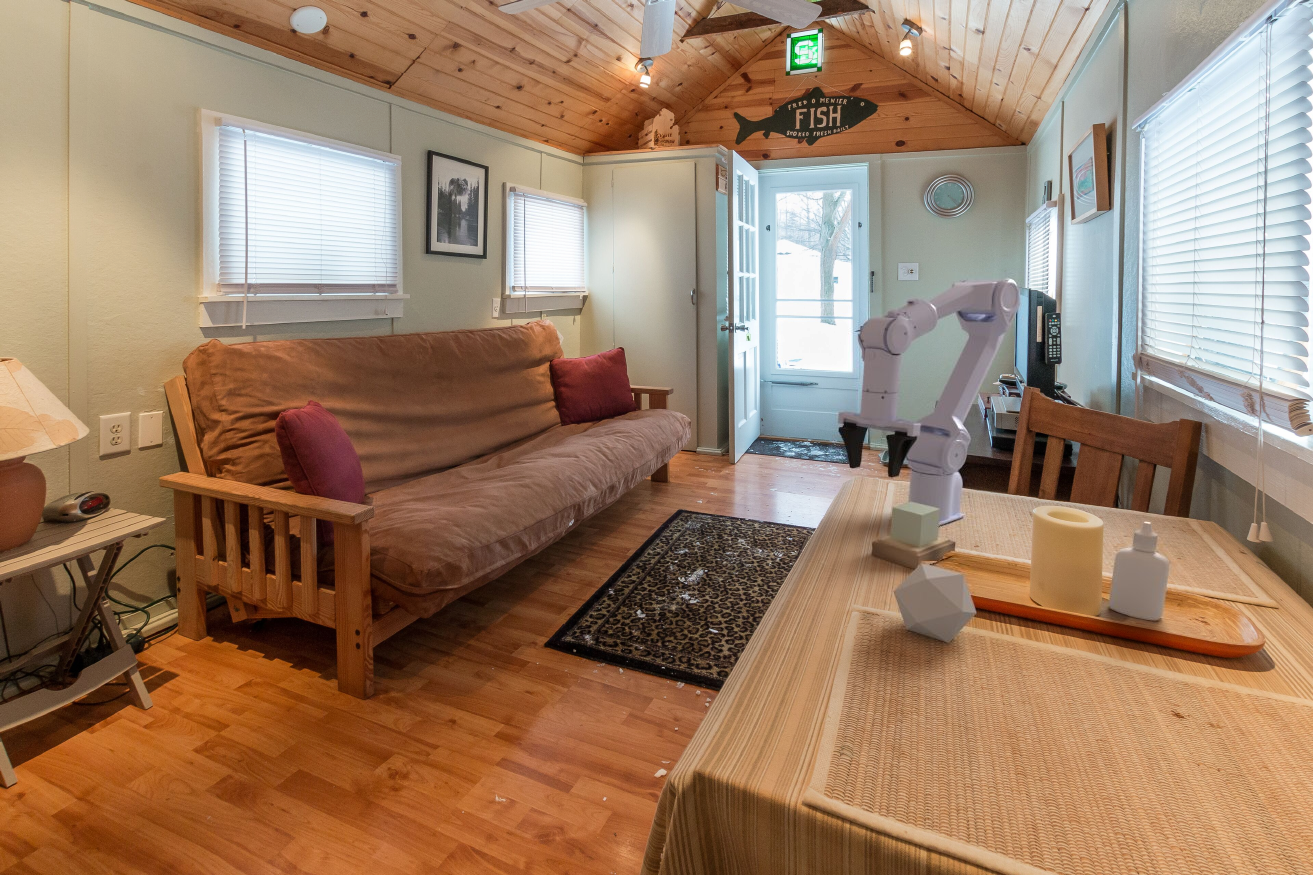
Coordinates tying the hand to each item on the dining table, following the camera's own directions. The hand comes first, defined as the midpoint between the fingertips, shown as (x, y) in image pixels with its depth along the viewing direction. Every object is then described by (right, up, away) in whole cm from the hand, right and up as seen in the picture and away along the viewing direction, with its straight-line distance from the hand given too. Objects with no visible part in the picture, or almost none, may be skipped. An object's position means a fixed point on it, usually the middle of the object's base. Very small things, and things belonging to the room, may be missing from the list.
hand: (873, 471), depth 120 cm
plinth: (+3, -12, -9) cm, 16 cm away
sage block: (+3, -10, -10) cm, 14 cm away
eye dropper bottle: (+24, -17, -29) cm, 41 cm away
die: (-3, -18, -34) cm, 39 cm away
